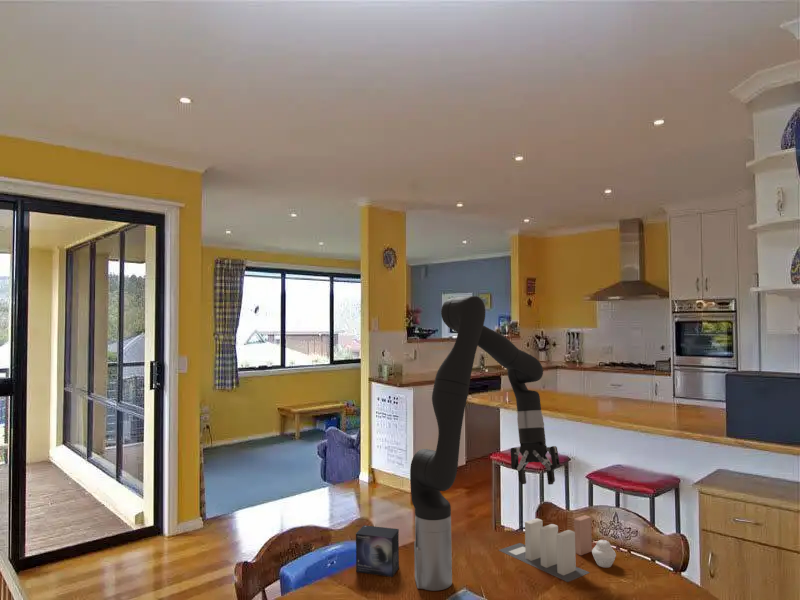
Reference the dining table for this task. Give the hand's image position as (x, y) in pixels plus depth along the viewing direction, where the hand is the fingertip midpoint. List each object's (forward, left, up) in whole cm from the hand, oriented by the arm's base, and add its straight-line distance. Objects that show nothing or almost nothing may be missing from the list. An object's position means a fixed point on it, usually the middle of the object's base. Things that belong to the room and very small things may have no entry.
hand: (537, 484), depth 160 cm
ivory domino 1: (-3, -4, -19) cm, 20 cm away
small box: (-47, -6, -20) cm, 51 cm away
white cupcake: (+14, -11, -20) cm, 27 cm away
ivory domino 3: (+3, -14, -19) cm, 24 cm away
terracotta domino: (+12, -2, -19) cm, 23 cm away
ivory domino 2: (0, -9, -19) cm, 21 cm away
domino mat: (-1, -7, -19) cm, 20 cm away
